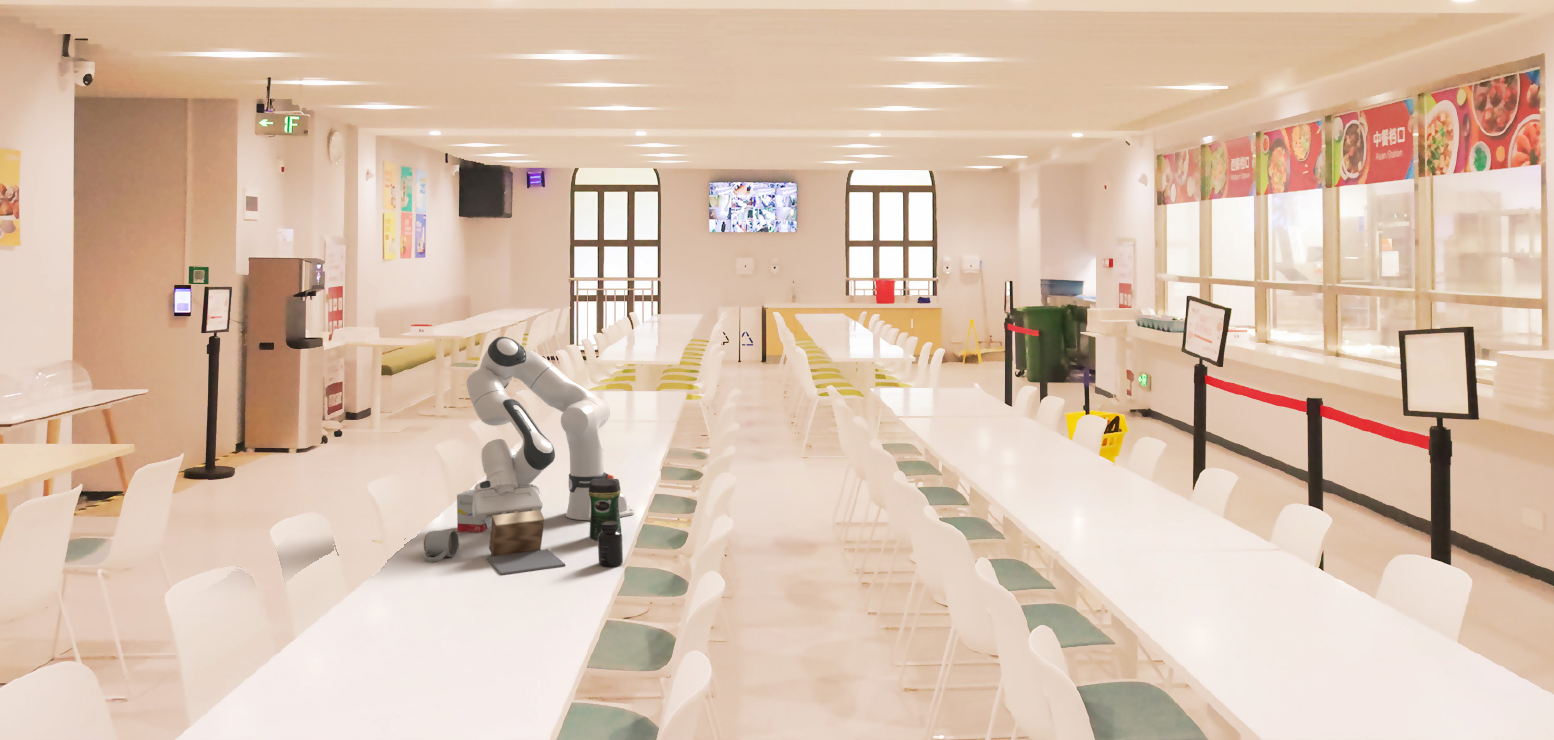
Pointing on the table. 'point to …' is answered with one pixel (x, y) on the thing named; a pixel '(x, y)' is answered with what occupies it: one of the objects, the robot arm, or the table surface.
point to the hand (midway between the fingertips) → (512, 527)
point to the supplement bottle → (610, 545)
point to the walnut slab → (516, 532)
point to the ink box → (469, 515)
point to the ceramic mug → (441, 544)
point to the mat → (525, 561)
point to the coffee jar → (603, 504)
